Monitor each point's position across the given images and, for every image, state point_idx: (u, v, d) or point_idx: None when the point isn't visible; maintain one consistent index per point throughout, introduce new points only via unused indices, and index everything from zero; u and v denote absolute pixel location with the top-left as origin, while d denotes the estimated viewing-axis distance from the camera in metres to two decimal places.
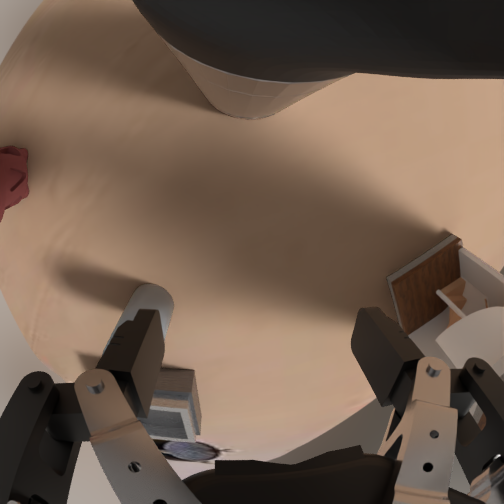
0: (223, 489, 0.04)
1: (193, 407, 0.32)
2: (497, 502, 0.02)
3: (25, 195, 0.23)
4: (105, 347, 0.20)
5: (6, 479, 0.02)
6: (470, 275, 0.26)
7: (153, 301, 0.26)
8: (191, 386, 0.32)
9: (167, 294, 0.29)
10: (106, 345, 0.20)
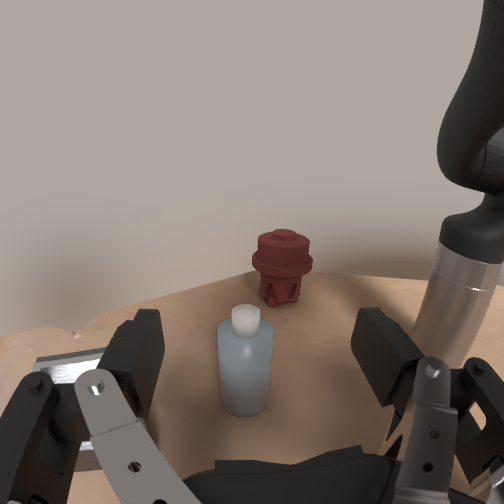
0: (223, 489, 0.04)
1: None
2: (497, 502, 0.02)
3: (272, 304, 0.46)
4: None
5: (6, 479, 0.02)
6: None
7: None
8: None
9: (265, 404, 0.26)
10: None
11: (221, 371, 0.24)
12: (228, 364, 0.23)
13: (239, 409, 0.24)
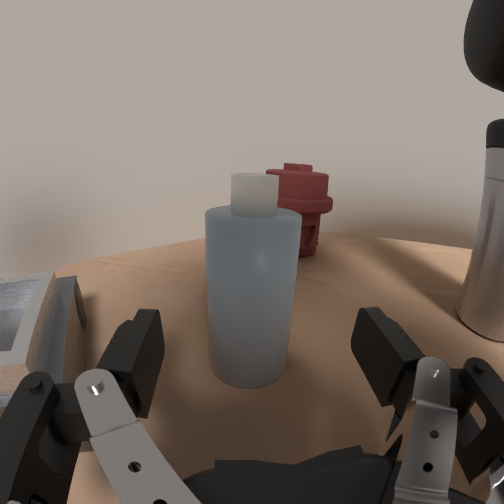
0: (223, 489, 0.04)
1: (0, 404, 0.06)
2: (497, 503, 0.02)
3: None
4: None
5: (6, 479, 0.02)
6: None
7: None
8: None
9: (283, 368, 0.17)
10: None
11: (210, 293, 0.15)
12: (223, 268, 0.13)
13: (240, 372, 0.15)
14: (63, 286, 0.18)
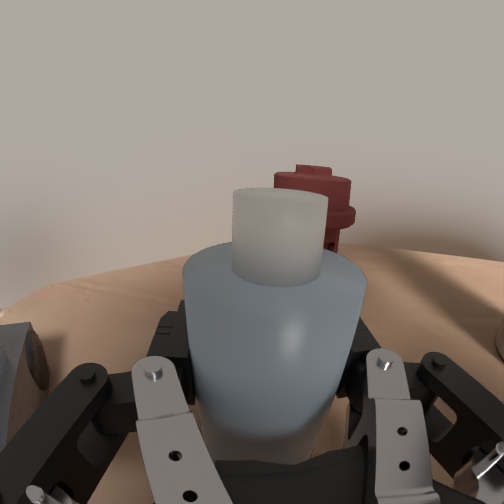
0: None
1: None
2: (488, 493, 0.02)
3: None
4: None
5: (33, 464, 0.03)
6: None
7: None
8: None
9: None
10: None
11: (199, 399, 0.08)
12: (219, 380, 0.06)
13: None
14: (13, 339, 0.11)
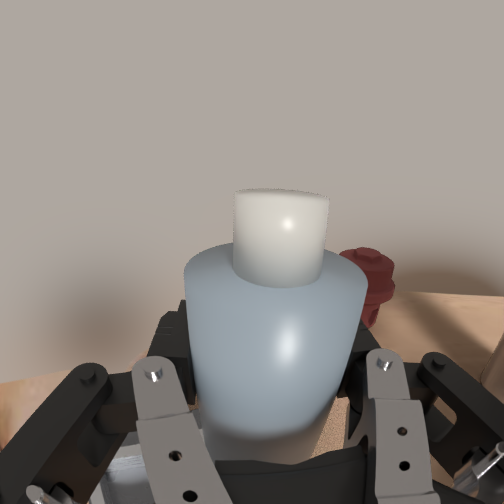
0: None
1: None
2: (489, 492, 0.02)
3: None
4: None
5: (33, 464, 0.03)
6: None
7: None
8: None
9: None
10: None
11: (200, 399, 0.08)
12: (221, 382, 0.06)
13: None
14: (199, 425, 0.19)
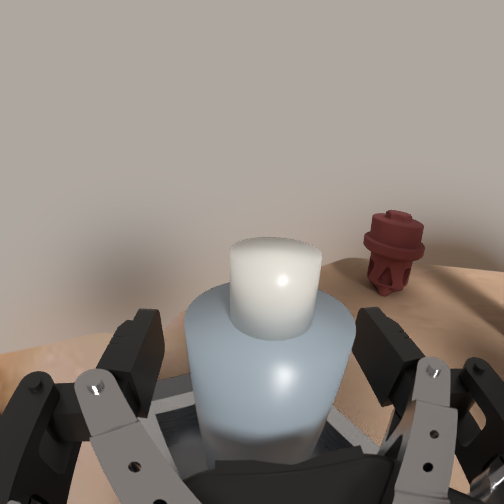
0: (223, 489, 0.04)
1: None
2: (497, 503, 0.02)
3: (385, 292, 0.38)
4: None
5: (6, 479, 0.02)
6: None
7: None
8: None
9: None
10: None
11: (201, 426, 0.08)
12: (220, 417, 0.07)
13: None
14: None
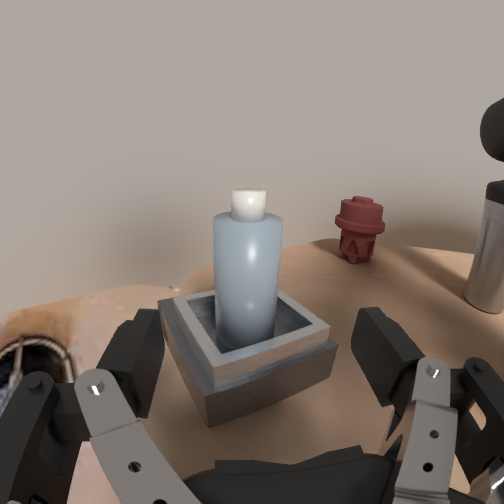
0: (223, 489, 0.04)
1: (305, 358, 0.20)
2: (497, 503, 0.02)
3: (353, 260, 0.50)
4: None
5: (6, 479, 0.02)
6: None
7: None
8: None
9: (272, 335, 0.22)
10: None
11: (217, 277, 0.20)
12: (226, 258, 0.19)
13: (239, 337, 0.21)
14: None
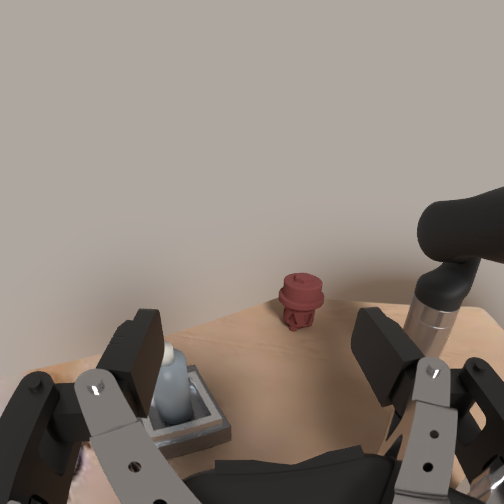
0: (223, 489, 0.04)
1: (205, 433, 0.30)
2: (497, 502, 0.02)
3: (293, 328, 0.59)
4: None
5: (6, 479, 0.02)
6: None
7: (190, 399, 0.32)
8: (230, 429, 0.32)
9: (190, 416, 0.32)
10: (174, 351, 0.32)
11: None
12: None
13: (167, 417, 0.30)
14: None
